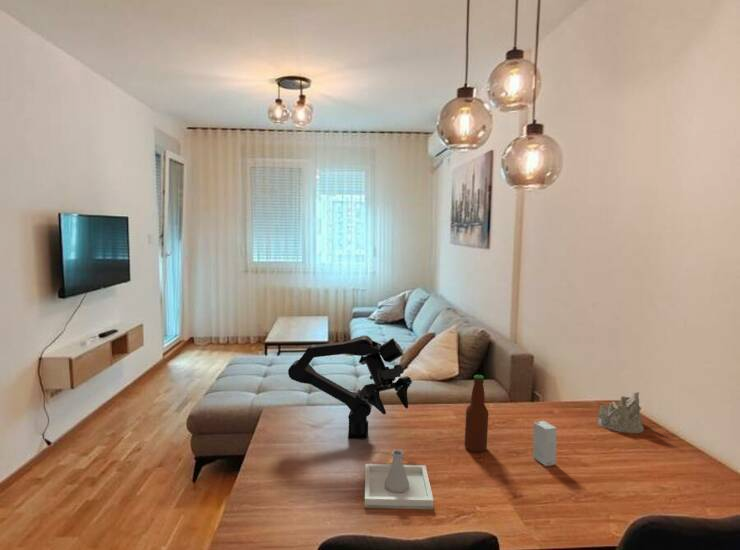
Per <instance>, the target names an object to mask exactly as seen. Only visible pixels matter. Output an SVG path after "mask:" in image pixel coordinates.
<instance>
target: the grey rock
mask: <svg viewBox="0 0 740 550" xmlns="http://www.w3.org/2000/svg"><path fill="white" fill-rule="evenodd" d="M639 394H640V392H638V391H633V393H632V396H625V395H624V396H622V395H621V397H620V399H619V403H618V404H617V403H616V402H615V401H614V400H613V401H612V402H609V406H608V405H607V406H606V405H603V404H602V405H600V407H599V411H598V417H599V418H598V419H597V425H598V426H599V427H601V428H604V429H608V430H611V431H614V432H619V433H627V434H639V433H640V434H641V433H643V432H644V431H645V430H644V429H645V427H644V426H643V418H642V417H641V413H640V412H641V410H642V408H641V406H640V397H639V396H640V395H639Z"/></svg>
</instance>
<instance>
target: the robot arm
mask: <svg viewBox="0 0 740 550" xmlns="http://www.w3.org/2000/svg"><path fill="white" fill-rule="evenodd" d="M338 355H353V356H359V357H360V358H359V361H358V363H359V364H360V365H363V366H364V365H366V366H367V369H368V371H369V374H370V376H369V379H370V380H372V381H373V382H374V383H368V384H365V385H363V387H362V388H361V389H358V390H357V392H355V391H350V390H349V389H347V388H345V387H343V386H341V385H340V384H338V383H337V382H335V381H333V380H331V379H329V378H327V377H325V376H323V375H322V374H320V373H318V372H316V369H314V368H313V366H312V365H310V364H311V362H312V360H313V359H315V358H319V357H322V358H323V357H330V356H338ZM404 355H405V354H404V351H403V349H402V347H401V345H400V344H399V343H398V342H397V341H396V340H395V338H393V337H392V338H390V339H389V340H388V341H386V342H384V343H383V344H381V343H379V342H376V341H374V340H372V338H371V337H370V336H369V335H360V336H358V337H354V338H352V339H349V340H346V341H338V342H329V343H328V342H327V343H320V344H310V345H308V347H307V348H306V350H305V351H304V353H303V354H302V356H301V357H300V358H299V359H296V360H294V362H293V363H292V364H291V365H290V366H289V368H288V370H287V373H288V377H289V378H290V380H292V381H295V382H297V383H300V384H307V385H311V386H313V387H314V388H316V389H318V390H320V391H321V392H323V393H325V394H327V395H329V396H331V397H332V398H335V400H338V401H340V402H342V404H345V406H346V407H348V409H349V410H350V411H349V413H348V432H347V433H348V434H347V438H348V439H363V440H364V439H365V440H366V439H367V437H368V435H369V420H368V416H370V415H371V413H372V407H375V408H376V409H377V410H378V411H379V412H380V413H382V415H386V414H387V412H386V409H385V407H384V404H383V401H382V400H381V396H380V392H385V391H389V390H393V389H394V391H396V392H395V394H396V396H397V398H398V399H399V401H400V403H401V404H402V405H403V407H404V409H409V401H408V388H410V387H411V385H412V383H413V380H412V379H411V377H410V376H401V375H403V374H404V373H405V372H404V368H403V367H402V366H403V365H401V364H396V365H394V366H393V368H390V367H388V366H386V365H385V363H389V364H390V363H393V362H394V361H395V360H398V359H399V358H401V357H403V356H404ZM384 362H385V363H384ZM396 378H398V379H397V380H396ZM394 381H395V382H394Z"/></svg>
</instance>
